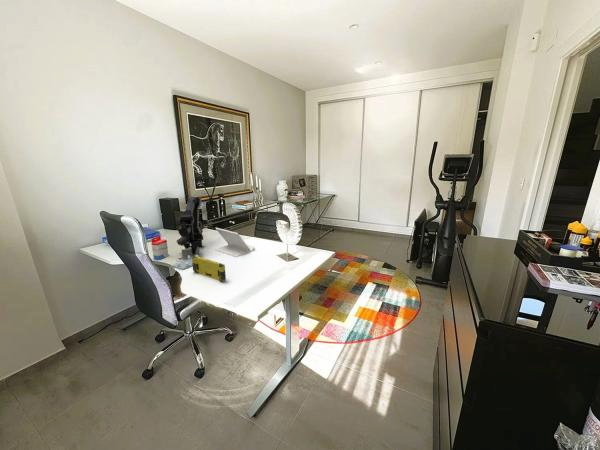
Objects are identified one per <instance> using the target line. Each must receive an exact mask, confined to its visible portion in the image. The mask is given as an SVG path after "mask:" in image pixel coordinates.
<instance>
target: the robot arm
mask: <svg viewBox="0 0 600 450" xmlns="http://www.w3.org/2000/svg"><path fill="white" fill-rule="evenodd" d="M202 200H203V199H202V198H201V197H200V196H191V197H187V204H186V207H185V209H184V211H183V212H182V214H181V216H180V217H179V223H180V225H179V227H180V226H181V229H180V228H179V229H178V234H179V235H180V238H178V239H177V240H176V243H177V245H178V246H181V247H182V246H183V247H184V249H186V248H189V247H191V248H192V253H193V255H194V254H195V252H196V249H197V247H199V249H201V248H204V247H205V246H204V245H203V240H204V235H203V232H202V233H201V229H200V226H199V225H200V223H199V222H200V221H199V217H200V216H199V215H200V214H199V213H200V212H199V210H200V207H201V206H202V202H203V201H202ZM182 222H183V223H182ZM181 236H183V237H181Z"/></svg>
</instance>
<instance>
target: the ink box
mask: <svg viewBox="0 0 600 450" xmlns="http://www.w3.org/2000/svg"><path fill="white" fill-rule="evenodd" d="M161 237H162V236H161V235H157V236H155V237H151V239H150V240H151V241H150V242H151V248H152V256H153V260H157V261H160V260H162V259H165V258H166V257H169V256H170V255H169V249H168V241H167V239H163V238H161Z"/></svg>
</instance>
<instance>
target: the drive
mask: <svg viewBox="0 0 600 450" xmlns="http://www.w3.org/2000/svg"><path fill="white" fill-rule="evenodd" d="M200 254H201V252H200V248H199V247H197V249H196V252H195V254H194V255H193V253H192V248H191V247H189V248H186V249H185V248H184V249H181V257H182V258H185V259H188V255H190V258H192V257H195V256H196V255H198V256H199V255H200Z"/></svg>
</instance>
